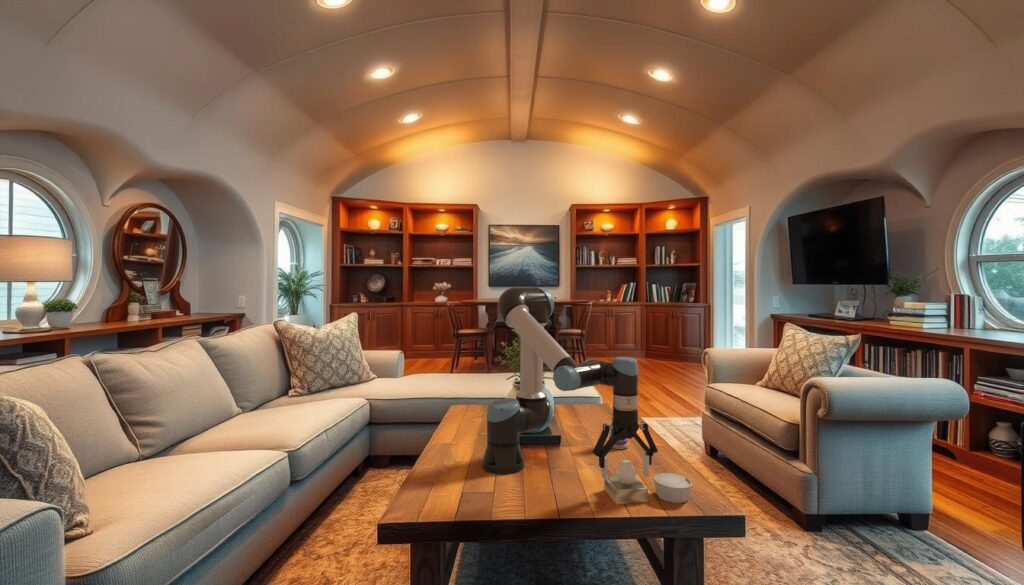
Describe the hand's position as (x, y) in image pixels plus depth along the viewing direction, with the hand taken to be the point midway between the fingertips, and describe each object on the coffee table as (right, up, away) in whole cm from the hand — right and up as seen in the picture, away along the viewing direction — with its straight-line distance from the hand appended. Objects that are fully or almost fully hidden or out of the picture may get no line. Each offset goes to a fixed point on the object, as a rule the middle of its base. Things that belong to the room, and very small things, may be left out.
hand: (625, 476), depth 143 cm
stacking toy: (+8, -6, +45) cm, 46 cm away
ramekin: (+14, -6, -1) cm, 16 cm away
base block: (0, -6, 0) cm, 6 cm away
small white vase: (0, -2, 0) cm, 2 cm away
